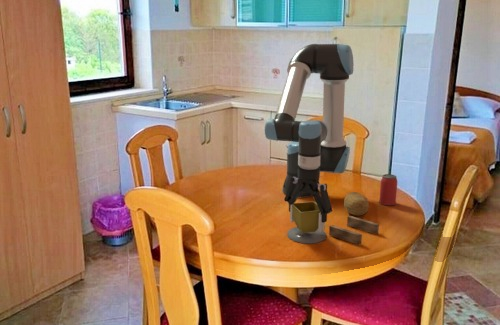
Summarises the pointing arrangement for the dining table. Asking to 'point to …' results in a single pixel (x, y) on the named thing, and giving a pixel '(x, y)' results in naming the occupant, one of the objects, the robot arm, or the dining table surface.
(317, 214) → the flower pot
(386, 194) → the beer can
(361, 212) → the potato
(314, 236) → the grey round disc
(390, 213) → the dining table surface
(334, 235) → the wooden blocks
